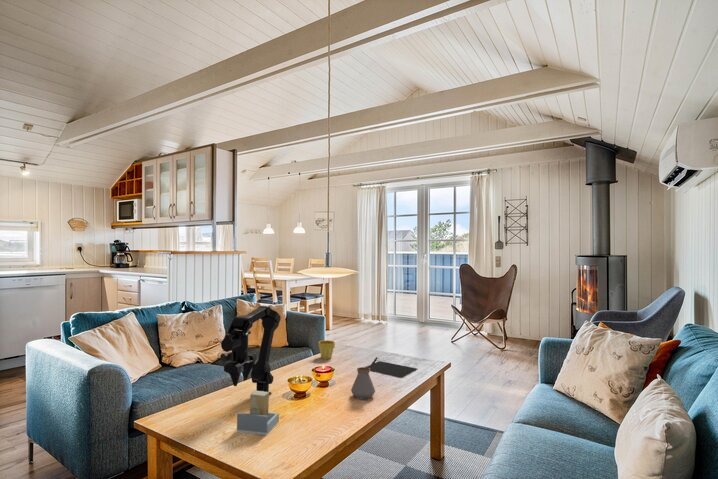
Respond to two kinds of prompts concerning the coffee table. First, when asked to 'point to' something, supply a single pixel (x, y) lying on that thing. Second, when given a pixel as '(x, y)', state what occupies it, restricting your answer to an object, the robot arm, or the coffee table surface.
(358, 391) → the coffee pot
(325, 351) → the plant pot
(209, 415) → the coffee table surface
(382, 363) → the tablet
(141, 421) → the coffee table surface
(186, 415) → the coffee table surface
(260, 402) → the skincare box
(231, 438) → the coffee table surface
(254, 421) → the seat tray
